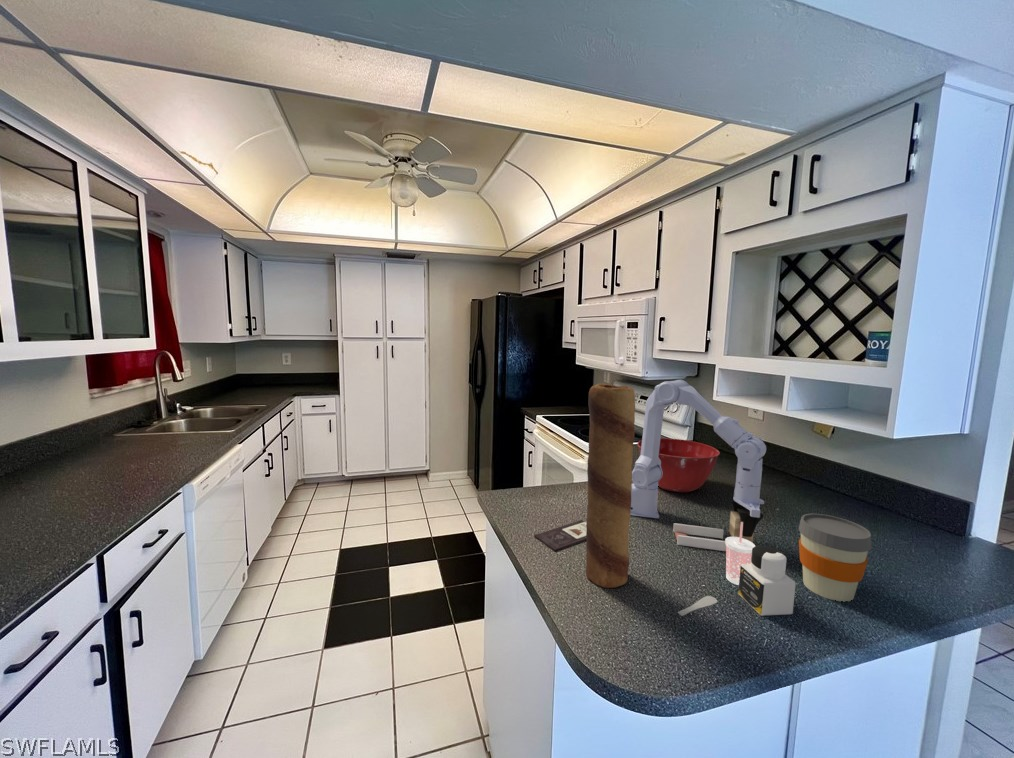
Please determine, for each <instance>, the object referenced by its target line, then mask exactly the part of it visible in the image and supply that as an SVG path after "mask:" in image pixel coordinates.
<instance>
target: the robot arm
mask: <svg viewBox="0 0 1014 758" xmlns="http://www.w3.org/2000/svg"><path fill="white" fill-rule="evenodd" d="M673 403H676V404H677V405H683V406H689V407H691V408H692V409H693V410H695V411H696V412H698V413H699V414H700V415H701V416H702V417H703V418H705V419H706V420H707V421H708V422H710V424H712V426H713V431H714V433H715V434H716V435H718V437H720V438H721V439H722V440H723V441H724V442H725V443H726V444H728V446H730V448H732V449H734V454H735V456H736V457H737V464H736V474H735V475H736V476H735V485H734V491H733V498H731V499H730V500H729V502H730V504H731V507H732V511H734V512H738V513H739V516H740V521H741V522H743V531H742V535H743V536H746V537H752V535H753V536H754V534H753V532H754V533H755V530H756V528H757V526H758V524H759V522H761V520H762V519H763V518H764V514H763V513H762V512H761V509H760V506H761V505H764V504H765V501H764V500H763V499H762V498H761V497H760V495H761V485H762V477H763V476H762V474H763V457H764V456H765V454H766V452H767V445H766V444H765V442H764V441H763V439H762V438H761V437H759V436H755V435H754V434H753V432H748V431H747V430H746V429H745V428H744V427H743V426H741V425H740V424H739V419H737V418H732V417H731V416H724V415H722V414H721V413H720V412H719V411H718V410H717V409H715V407H714V406H712V404H711V403H709V402H708V401H707V399H705V398H704V397H703V396H702V395H701V394H700V393H699V392H698V391H697V390H696V388H695V387H694V386H692V385H690V384H689V383H688V382H687V381H686V380H683V379H676V380H670V381H663V382H661V383H659V384H657V385H655V386H654V390H653V391H652V392H651V393H650V395H649V397H648V398H647V399H646V402H645V411H644V418H643V427H642V429H643V430H642V438H641V440H642V445H641V455H640V454H639V457H638V459H636V461H635V462H634V468H633V470H632V490H631V515H630V516H635V517H636V516H637V517H642V518H643V517H644V518H650V519H651V518H653V519H660V514H659V512H658V496H659V487H658V481H659V480H660V479H661V478H662V475H663V472H662V469H661V460H660V459H659V457H658V456H659V447H660V439H661V438H662V437H661V436H662V429H663V428H662V427H663V421H664V420H663V419H664V412H665V409H666V408H668V407H669V406H671V405H672V404H673Z"/></svg>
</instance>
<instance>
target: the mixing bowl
mask: <svg viewBox="0 0 1014 758" xmlns="http://www.w3.org/2000/svg"><path fill="white" fill-rule="evenodd" d="M641 445H642V439H641V440H639V441H638V442H637V447H638V451H639V456H640V455H641ZM720 455H721V454H720V451H719V449H717V448H715V447H713V446H711V445H708V444H704V443H701V442H697V441H692V440H687V439H680V438H668V437H667V438H666V437H661V439H660V447H659V456H658V457H659V459H660V460H661V469H662V472H663V475H662V478H661V479H660V480H659V481H658V486H659V487H658V488H660V489H663V490H666V491H669V492H673V493H674V492H675V493H690V492H693V491H695V490H698V489H699V488H701V487H702V486H703V485H704V483H706V481H707V479H708V478H709V477H710V475H711V473H712V471H713V469H714V467H715V465H716V462H717V460H718V458H719V457H718V456H720Z"/></svg>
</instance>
